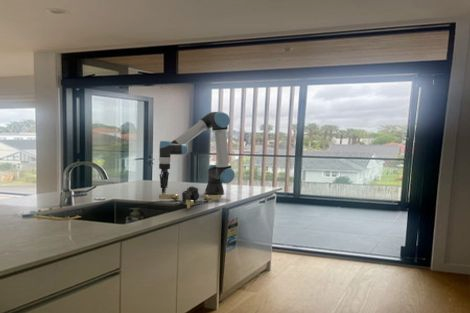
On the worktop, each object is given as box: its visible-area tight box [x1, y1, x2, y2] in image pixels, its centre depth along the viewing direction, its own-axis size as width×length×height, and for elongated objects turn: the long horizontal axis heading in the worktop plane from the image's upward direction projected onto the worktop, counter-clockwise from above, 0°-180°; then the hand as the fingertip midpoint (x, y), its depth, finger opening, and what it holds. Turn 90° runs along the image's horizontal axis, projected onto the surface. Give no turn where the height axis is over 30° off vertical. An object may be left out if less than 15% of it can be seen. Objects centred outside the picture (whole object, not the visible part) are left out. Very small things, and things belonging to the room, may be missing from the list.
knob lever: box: [158, 193, 180, 200], centre depth 249 cm, size 14×5×4 cm, turn 103°
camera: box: [181, 185, 200, 202], centre depth 244 cm, size 13×10×10 cm
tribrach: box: [174, 194, 223, 209], centre depth 244 cm, size 42×27×4 cm, turn 154°
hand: (163, 196), depth 250 cm, fingers closed
